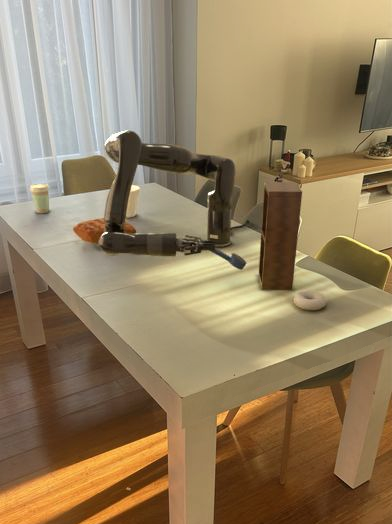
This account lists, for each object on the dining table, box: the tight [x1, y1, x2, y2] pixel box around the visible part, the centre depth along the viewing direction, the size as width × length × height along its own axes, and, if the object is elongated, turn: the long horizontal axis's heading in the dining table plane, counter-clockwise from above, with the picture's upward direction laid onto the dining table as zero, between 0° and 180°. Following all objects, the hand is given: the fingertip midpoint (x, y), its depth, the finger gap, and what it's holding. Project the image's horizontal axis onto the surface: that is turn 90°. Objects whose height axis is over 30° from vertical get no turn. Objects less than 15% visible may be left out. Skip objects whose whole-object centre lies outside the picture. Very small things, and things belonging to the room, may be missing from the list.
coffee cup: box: [29, 183, 50, 214], centre depth 251 cm, size 8×9×12 cm
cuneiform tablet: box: [72, 217, 138, 245], centre depth 216 cm, size 22×17×8 cm
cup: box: [126, 184, 141, 218], centre depth 246 cm, size 12×12×12 cm
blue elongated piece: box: [198, 240, 247, 271], centre depth 178 cm, size 17×6×2 cm
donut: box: [293, 290, 327, 311], centre depth 167 cm, size 10×4×10 cm
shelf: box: [257, 181, 303, 291], centre depth 175 cm, size 10×12×32 cm
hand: (214, 245), depth 176 cm, fingers closed on blue elongated piece, 2 cm apart
